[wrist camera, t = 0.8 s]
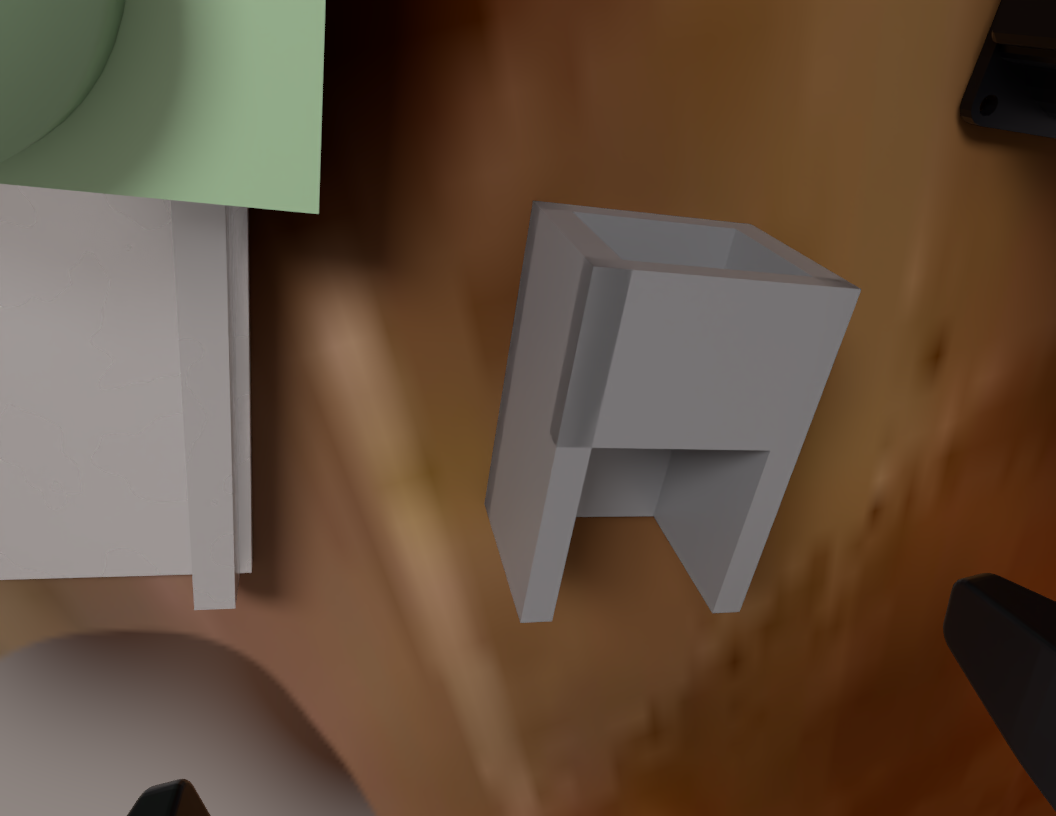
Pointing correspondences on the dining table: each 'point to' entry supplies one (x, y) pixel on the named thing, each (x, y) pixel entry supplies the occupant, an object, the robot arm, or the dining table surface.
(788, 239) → the dining table surface
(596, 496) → the chute
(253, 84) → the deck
